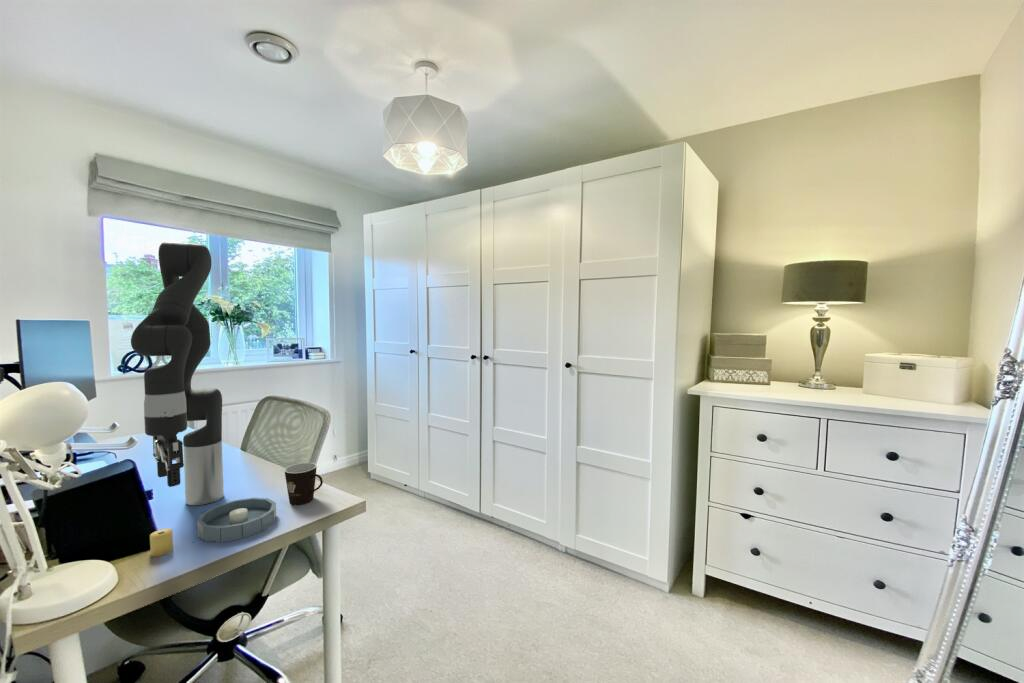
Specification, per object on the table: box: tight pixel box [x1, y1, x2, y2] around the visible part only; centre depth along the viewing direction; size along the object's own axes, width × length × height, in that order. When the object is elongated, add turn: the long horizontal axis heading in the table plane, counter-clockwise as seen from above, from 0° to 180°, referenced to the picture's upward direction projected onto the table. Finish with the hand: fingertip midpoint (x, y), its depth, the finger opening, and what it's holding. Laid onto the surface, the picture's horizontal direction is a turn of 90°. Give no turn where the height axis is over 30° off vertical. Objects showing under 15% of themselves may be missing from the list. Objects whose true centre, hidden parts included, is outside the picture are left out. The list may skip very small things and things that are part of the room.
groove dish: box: [196, 497, 277, 543], centre depth 110 cm, size 17×17×4 cm
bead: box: [149, 528, 174, 558], centre depth 97 cm, size 4×4×5 cm
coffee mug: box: [283, 462, 324, 506], centre depth 124 cm, size 12×9×10 cm
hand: (168, 480), depth 97 cm, fingers open, 8 cm apart
